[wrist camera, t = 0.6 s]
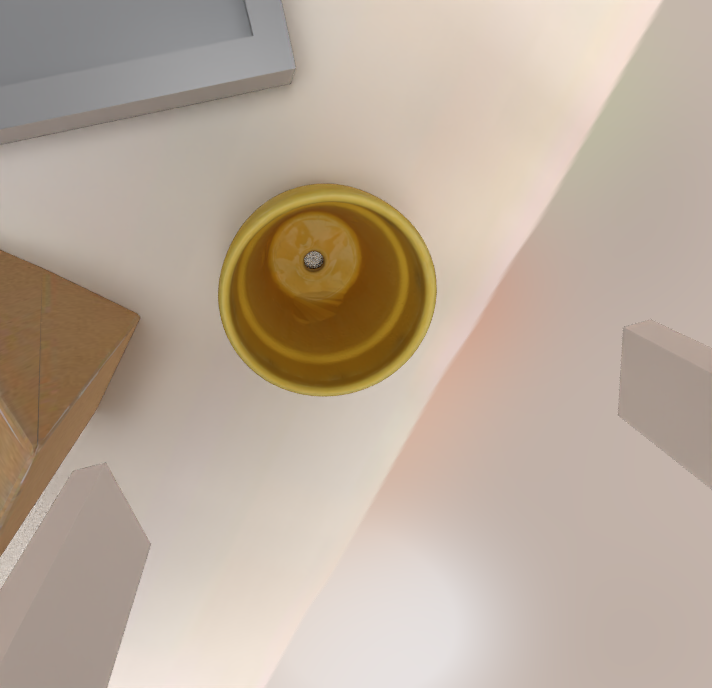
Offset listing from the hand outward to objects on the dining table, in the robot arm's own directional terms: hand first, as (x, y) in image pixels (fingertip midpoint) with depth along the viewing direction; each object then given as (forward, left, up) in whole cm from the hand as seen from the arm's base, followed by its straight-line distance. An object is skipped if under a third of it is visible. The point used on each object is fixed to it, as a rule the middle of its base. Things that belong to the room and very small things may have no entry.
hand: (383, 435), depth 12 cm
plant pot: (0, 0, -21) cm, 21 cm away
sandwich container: (-20, +1, -21) cm, 29 cm away
